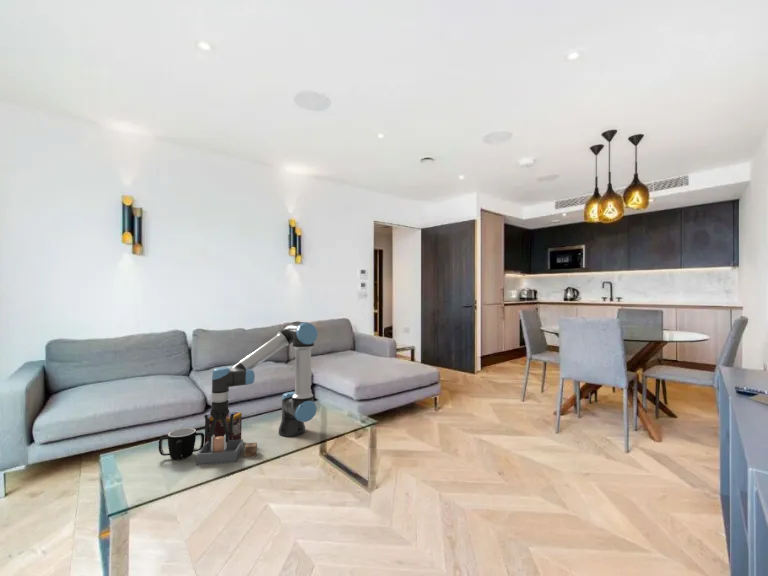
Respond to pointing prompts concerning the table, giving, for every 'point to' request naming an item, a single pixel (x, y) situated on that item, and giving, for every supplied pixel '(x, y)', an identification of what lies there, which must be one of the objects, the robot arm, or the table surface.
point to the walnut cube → (250, 449)
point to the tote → (220, 453)
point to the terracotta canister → (218, 444)
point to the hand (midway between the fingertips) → (218, 449)
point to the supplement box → (236, 427)
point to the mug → (181, 443)
